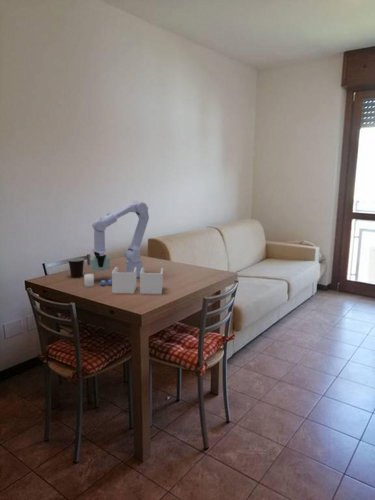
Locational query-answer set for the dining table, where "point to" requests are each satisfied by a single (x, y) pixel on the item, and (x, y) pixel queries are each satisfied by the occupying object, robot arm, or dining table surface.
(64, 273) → the dining table surface
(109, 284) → the marble
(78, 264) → the coffee mug
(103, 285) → the marble
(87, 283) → the white domed capsule
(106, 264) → the green tapered block
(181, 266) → the dining table surface
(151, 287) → the storage container
